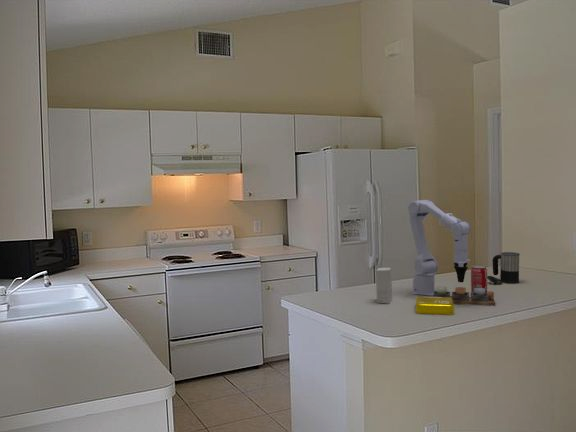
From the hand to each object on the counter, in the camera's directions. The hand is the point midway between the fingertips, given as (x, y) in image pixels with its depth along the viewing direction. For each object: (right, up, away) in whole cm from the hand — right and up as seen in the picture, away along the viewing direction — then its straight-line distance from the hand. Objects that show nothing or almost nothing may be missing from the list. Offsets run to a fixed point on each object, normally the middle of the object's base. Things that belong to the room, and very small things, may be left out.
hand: (460, 280), depth 247 cm
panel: (0, -9, +1) cm, 9 cm away
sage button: (-8, -6, +3) cm, 10 cm away
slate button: (+8, -6, -2) cm, 10 cm away
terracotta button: (0, -6, +1) cm, 6 cm away
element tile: (-15, -11, -12) cm, 22 cm away
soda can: (+13, -8, +14) cm, 21 cm away
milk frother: (+34, -6, +39) cm, 52 cm away
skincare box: (-33, -10, +4) cm, 34 cm away
